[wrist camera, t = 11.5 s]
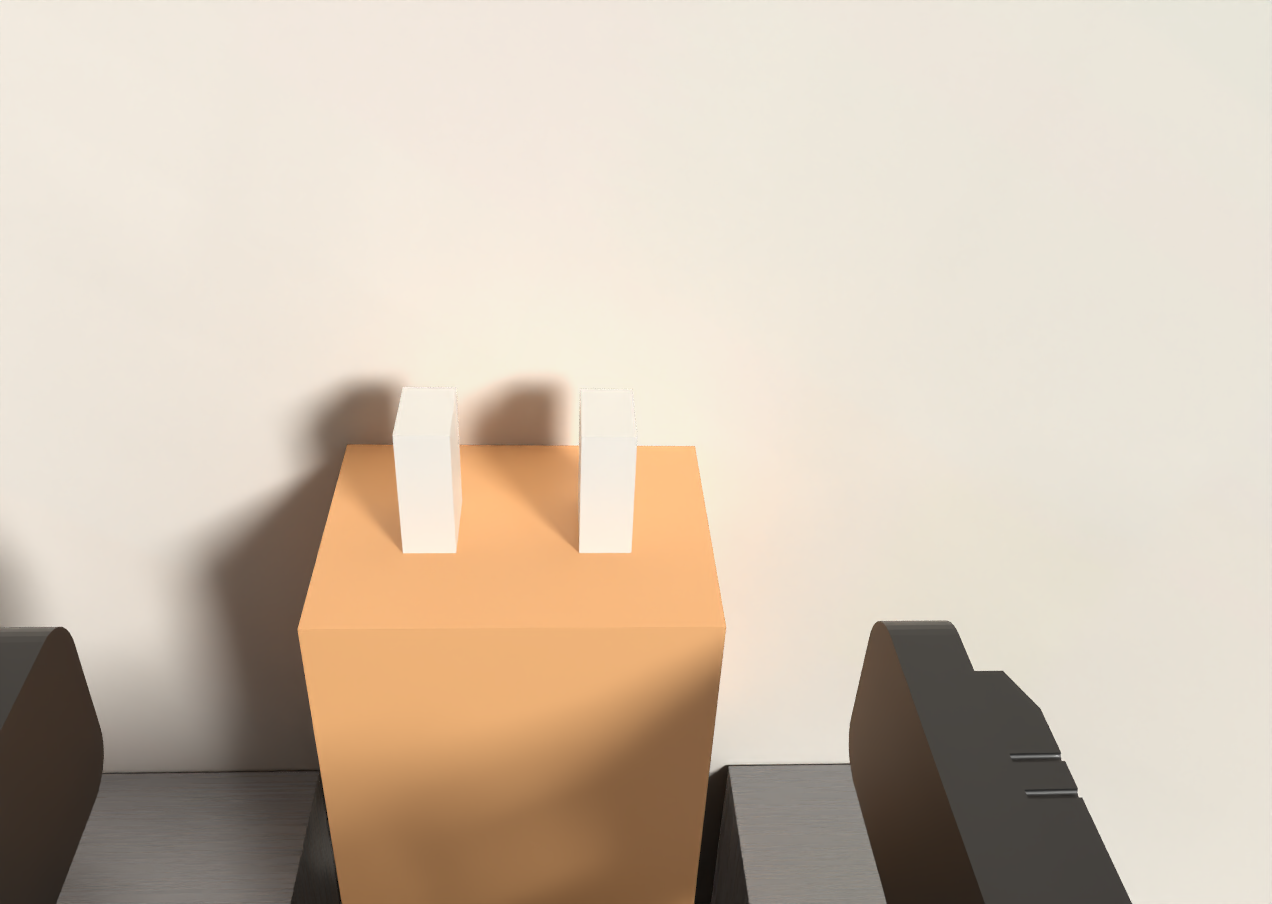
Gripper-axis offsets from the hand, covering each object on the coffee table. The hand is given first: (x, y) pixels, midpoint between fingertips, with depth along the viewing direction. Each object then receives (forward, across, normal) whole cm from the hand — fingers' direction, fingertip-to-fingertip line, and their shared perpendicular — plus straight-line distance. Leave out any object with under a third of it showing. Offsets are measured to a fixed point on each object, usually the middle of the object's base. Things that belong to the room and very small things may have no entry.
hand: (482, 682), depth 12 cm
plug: (+4, 0, +10) cm, 11 cm away
